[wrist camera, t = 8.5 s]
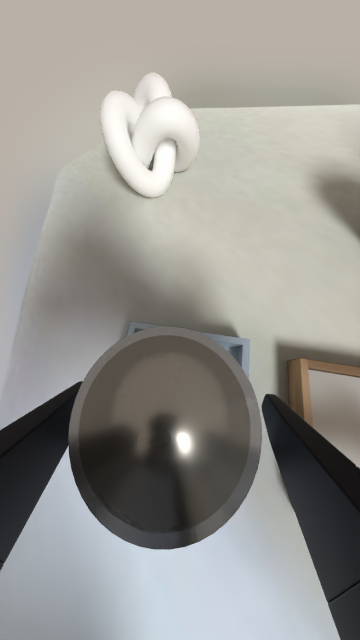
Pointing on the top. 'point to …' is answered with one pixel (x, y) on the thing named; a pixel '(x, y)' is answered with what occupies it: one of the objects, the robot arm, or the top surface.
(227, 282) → the top surface
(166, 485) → the scoop cup
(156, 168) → the white knot sculpture
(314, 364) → the walnut tray
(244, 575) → the top surface
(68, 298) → the top surface
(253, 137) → the top surface
